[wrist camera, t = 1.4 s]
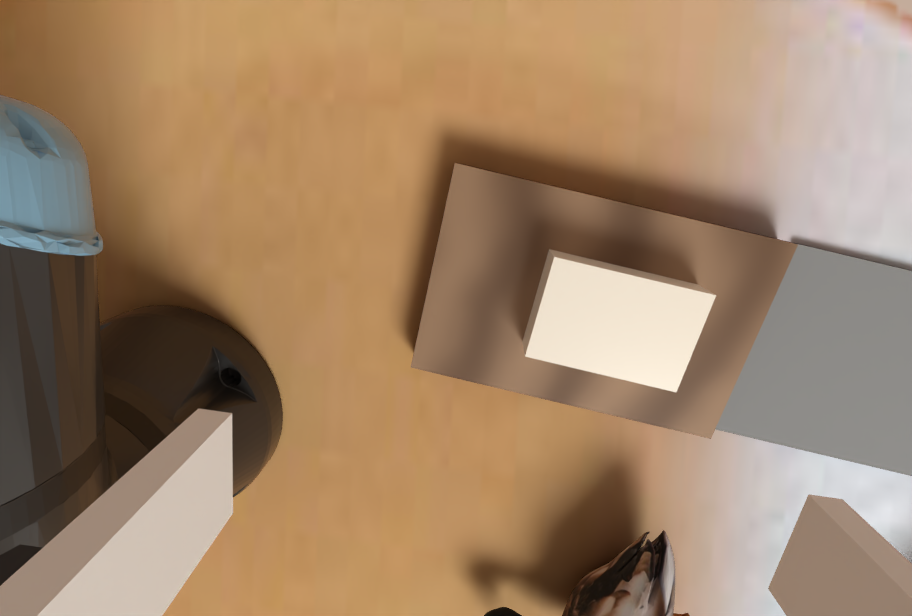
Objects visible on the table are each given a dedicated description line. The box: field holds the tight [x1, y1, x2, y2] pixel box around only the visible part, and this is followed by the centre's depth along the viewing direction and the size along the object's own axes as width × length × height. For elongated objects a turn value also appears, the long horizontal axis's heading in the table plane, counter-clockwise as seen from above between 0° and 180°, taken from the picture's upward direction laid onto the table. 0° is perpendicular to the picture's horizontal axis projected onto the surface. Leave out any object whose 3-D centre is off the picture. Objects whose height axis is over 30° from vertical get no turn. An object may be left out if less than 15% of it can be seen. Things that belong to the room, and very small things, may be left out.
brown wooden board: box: [411, 163, 798, 439], centre depth 30 cm, size 20×13×2 cm, turn 77°
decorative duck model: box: [484, 530, 689, 616], centre depth 34 cm, size 15×8×15 cm
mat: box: [715, 243, 912, 476], centre depth 31 cm, size 14×13×1 cm
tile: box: [522, 249, 716, 392], centre depth 28 cm, size 9×6×2 cm, turn 77°
